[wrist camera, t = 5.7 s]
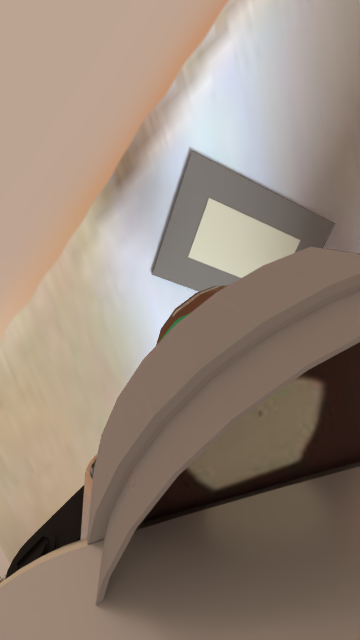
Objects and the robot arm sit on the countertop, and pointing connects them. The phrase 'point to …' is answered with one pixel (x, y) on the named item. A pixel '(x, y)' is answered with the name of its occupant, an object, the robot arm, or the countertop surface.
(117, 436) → the food container
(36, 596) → the robot arm
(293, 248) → the mat
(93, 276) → the countertop surface
